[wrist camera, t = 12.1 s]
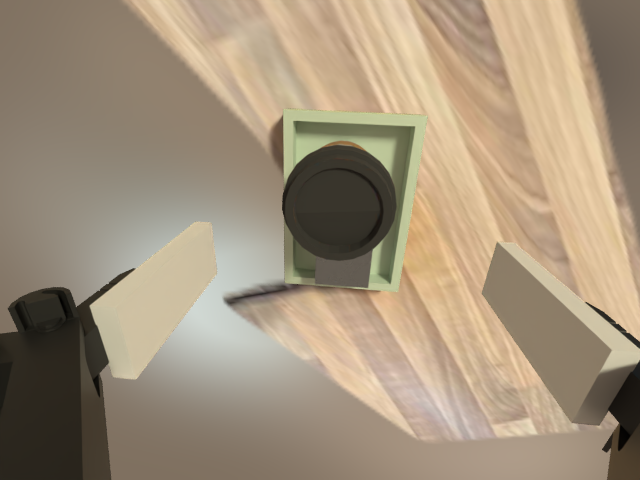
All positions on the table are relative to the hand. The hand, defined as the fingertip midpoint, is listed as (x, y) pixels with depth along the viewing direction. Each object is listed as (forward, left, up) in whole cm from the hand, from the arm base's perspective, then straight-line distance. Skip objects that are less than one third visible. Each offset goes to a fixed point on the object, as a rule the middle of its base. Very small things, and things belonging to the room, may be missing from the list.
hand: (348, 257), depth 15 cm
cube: (+9, 0, -22) cm, 24 cm away
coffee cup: (0, -1, -22) cm, 22 cm away
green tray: (+4, 0, -23) cm, 23 cm away
